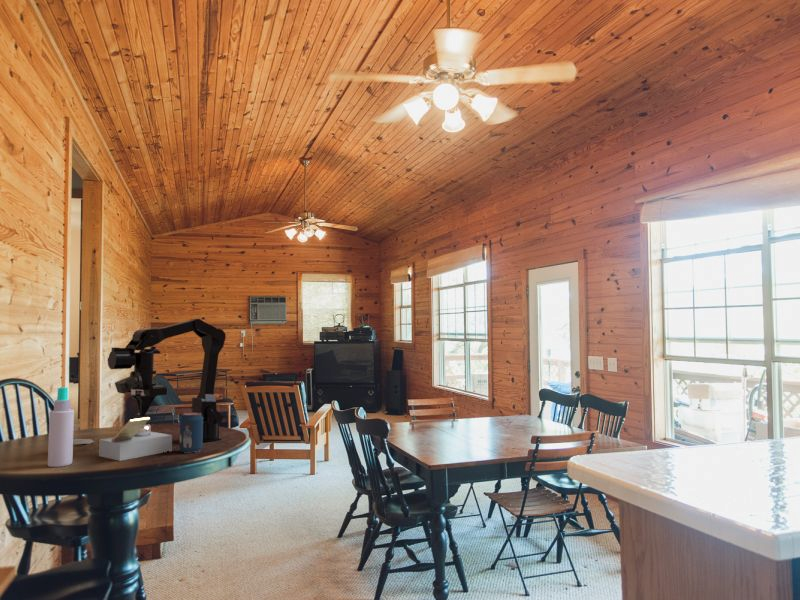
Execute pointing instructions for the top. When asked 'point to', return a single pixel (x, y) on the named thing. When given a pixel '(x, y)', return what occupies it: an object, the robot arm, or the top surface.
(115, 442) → the block
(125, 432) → the plate
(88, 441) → the caliper
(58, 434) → the spray bottle
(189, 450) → the soda can
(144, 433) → the steel pin
